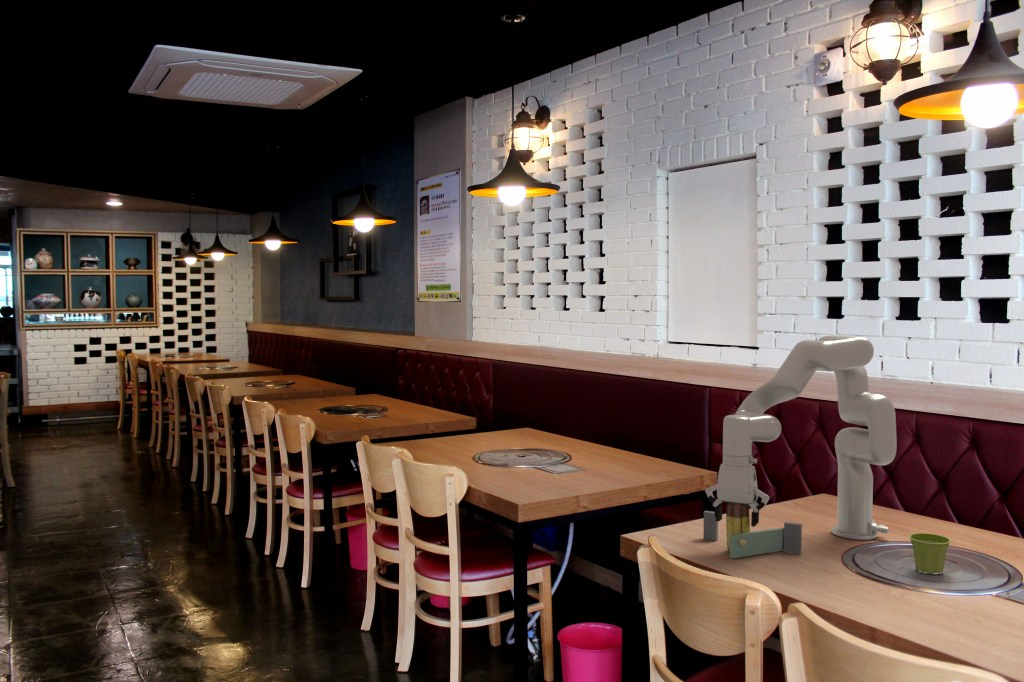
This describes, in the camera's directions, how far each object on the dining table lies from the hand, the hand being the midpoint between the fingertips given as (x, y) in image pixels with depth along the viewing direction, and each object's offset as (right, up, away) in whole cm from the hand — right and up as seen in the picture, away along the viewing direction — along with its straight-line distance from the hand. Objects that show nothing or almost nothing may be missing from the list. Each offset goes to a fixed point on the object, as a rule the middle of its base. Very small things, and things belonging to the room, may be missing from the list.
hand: (736, 523), depth 219 cm
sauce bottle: (+1, -8, +1) cm, 9 cm away
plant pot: (+45, -9, -15) cm, 48 cm away
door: (+6, -8, -2) cm, 10 cm away
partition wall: (+6, -8, +7) cm, 12 cm away
